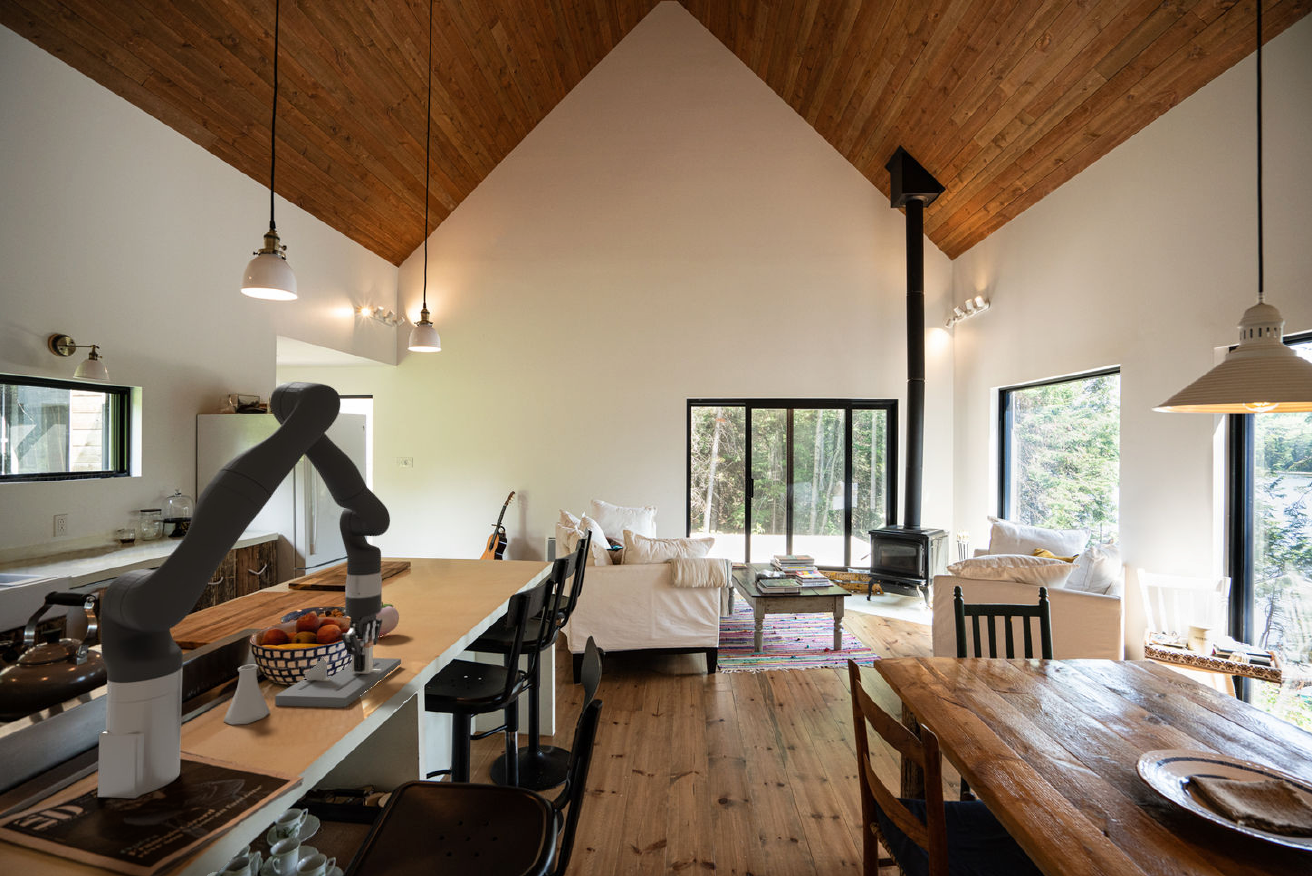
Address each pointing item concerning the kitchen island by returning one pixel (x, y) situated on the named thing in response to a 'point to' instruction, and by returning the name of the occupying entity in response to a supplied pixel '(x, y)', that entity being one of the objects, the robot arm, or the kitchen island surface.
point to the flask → (247, 698)
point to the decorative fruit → (387, 618)
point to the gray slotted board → (336, 686)
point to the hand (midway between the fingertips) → (362, 669)
